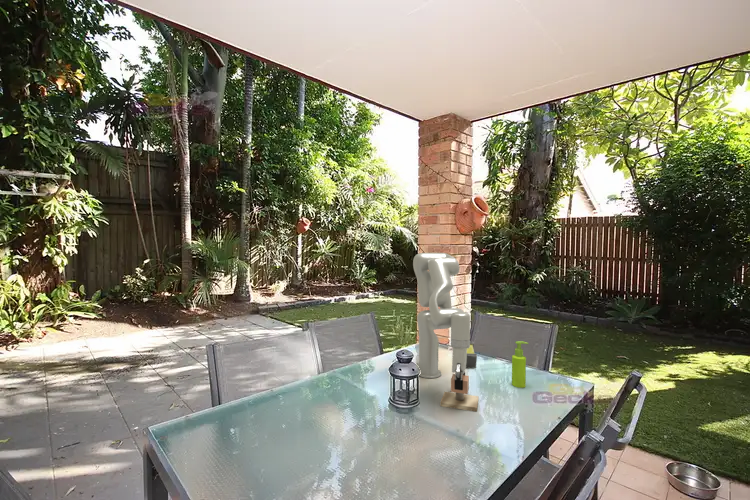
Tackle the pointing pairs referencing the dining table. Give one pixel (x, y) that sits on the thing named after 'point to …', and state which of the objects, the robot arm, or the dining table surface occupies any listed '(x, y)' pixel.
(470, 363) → the grey and yellow block
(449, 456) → the dining table surface
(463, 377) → the peach cube
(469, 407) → the board
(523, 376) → the soap dispenser
